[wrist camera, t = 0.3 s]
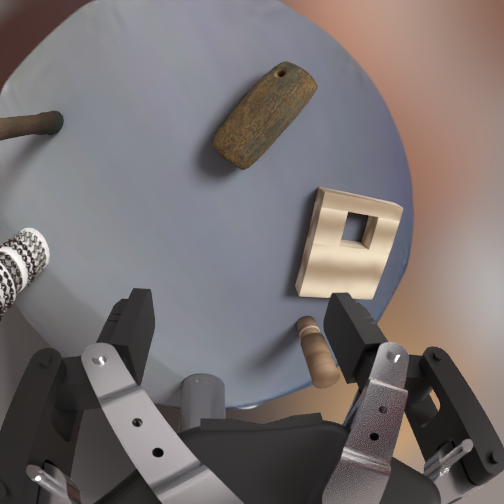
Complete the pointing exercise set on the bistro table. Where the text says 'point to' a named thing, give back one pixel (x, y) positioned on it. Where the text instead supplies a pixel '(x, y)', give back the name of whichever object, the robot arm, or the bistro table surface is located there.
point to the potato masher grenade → (31, 125)
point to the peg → (316, 353)
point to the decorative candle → (20, 264)
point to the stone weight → (264, 114)
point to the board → (346, 246)
